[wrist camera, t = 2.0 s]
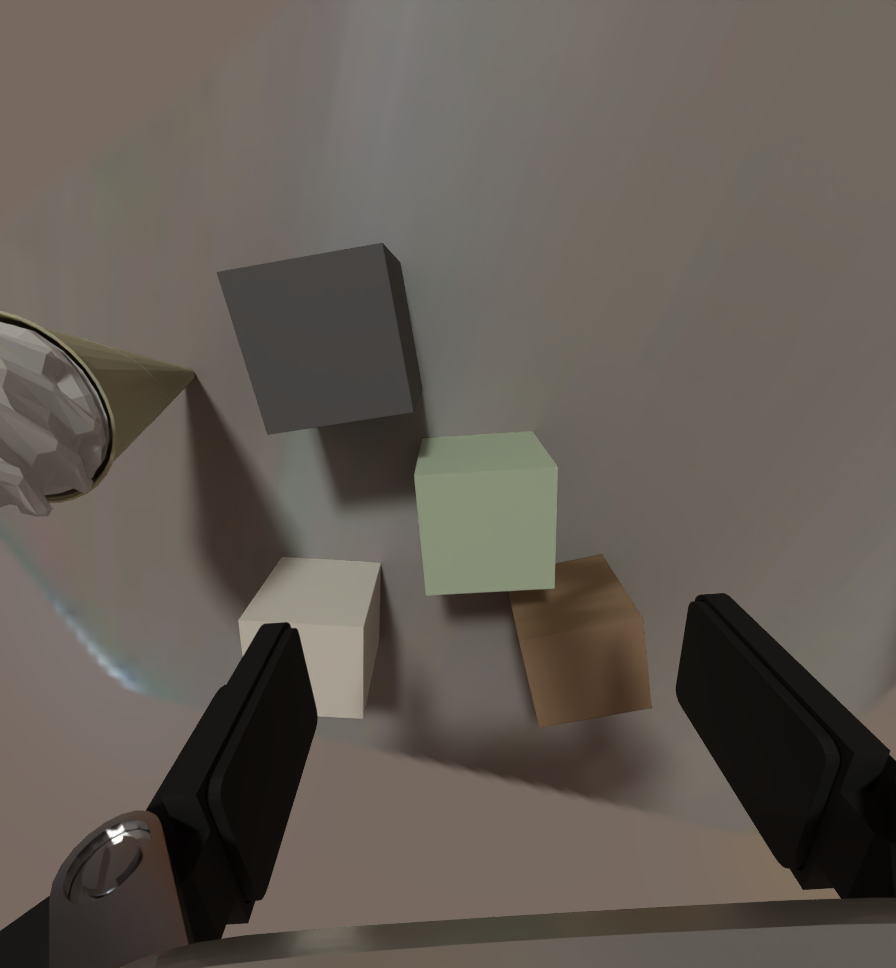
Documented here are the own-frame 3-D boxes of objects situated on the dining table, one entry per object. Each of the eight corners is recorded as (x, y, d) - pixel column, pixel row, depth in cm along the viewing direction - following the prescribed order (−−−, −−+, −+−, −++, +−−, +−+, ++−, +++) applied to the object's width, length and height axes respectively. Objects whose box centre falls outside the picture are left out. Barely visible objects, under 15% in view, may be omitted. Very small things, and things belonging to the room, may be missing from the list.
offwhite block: (380, 562, 22) (363, 627, 18) (379, 640, 24) (363, 718, 19) (282, 556, 22) (238, 620, 17) (288, 635, 24) (249, 712, 19)
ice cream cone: (223, 451, 20) (-306, 772, 6) (113, 392, 19) (-830, 610, 5) (267, 355, 18) (-308, 482, 4) (150, 285, 17) (-1067, 163, 3)
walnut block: (601, 553, 22) (642, 617, 17) (611, 630, 24) (651, 707, 19) (504, 573, 22) (518, 641, 18) (521, 648, 24) (539, 727, 20)
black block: (400, 262, 17) (382, 243, 13) (422, 388, 19) (413, 412, 14) (278, 283, 17) (216, 271, 13) (311, 405, 19) (267, 434, 15)
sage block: (531, 430, 20) (558, 466, 15) (531, 529, 21) (554, 588, 17) (422, 437, 20) (413, 475, 15) (430, 534, 22) (426, 595, 17)
